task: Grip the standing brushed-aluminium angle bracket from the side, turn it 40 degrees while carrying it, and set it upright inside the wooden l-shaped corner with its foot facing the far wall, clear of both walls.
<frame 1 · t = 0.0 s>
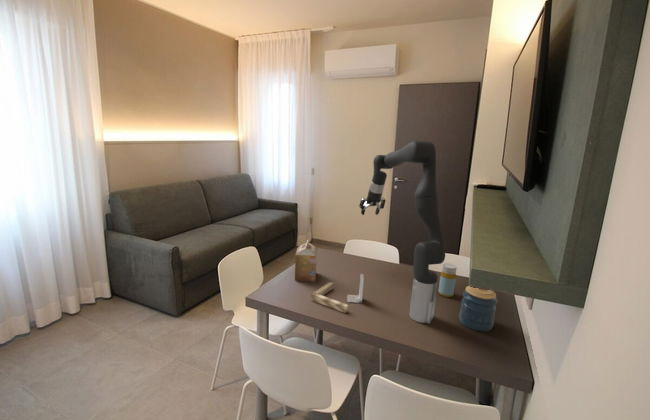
hand: (369, 214, 178), 31 cm above the table, tool tilted 20°, fingers open, 8 cm apart
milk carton: (305, 276, 166), on the table
wooden l-shaped corner: (336, 299, 143), on the table
canister: (475, 323, 130), on the table
bottle: (445, 294, 154), on the table
bracket: (360, 300, 144), on the table
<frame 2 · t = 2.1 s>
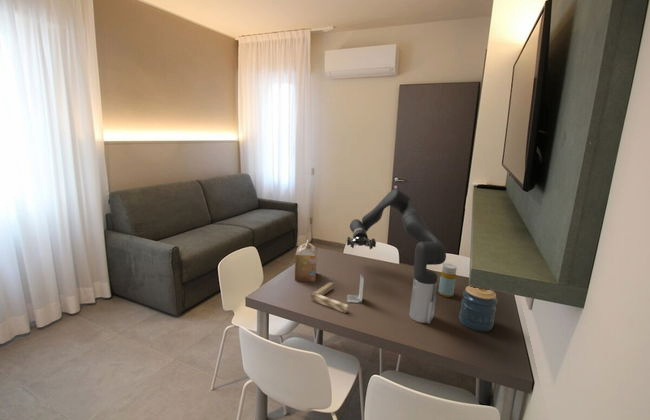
hand: (362, 246, 150), 22 cm above the table, tool horizontal, fingers open, 8 cm apart
nothing on the table moved.
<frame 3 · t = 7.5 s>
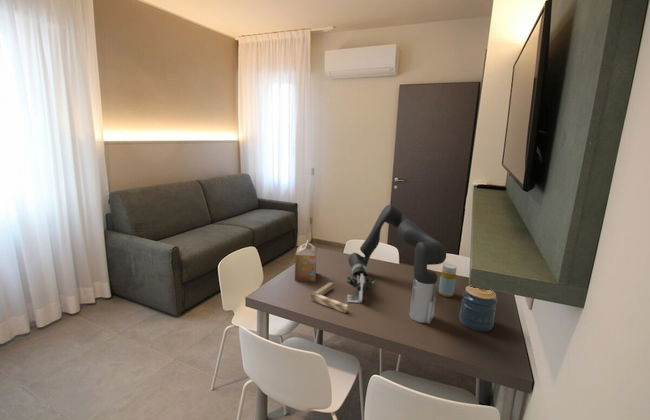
hand: (361, 289, 139), 7 cm above the table, tool horizontal, fingers closed on bracket
bracket: (360, 300, 144), on the table, touching gripper
everything else where it was.
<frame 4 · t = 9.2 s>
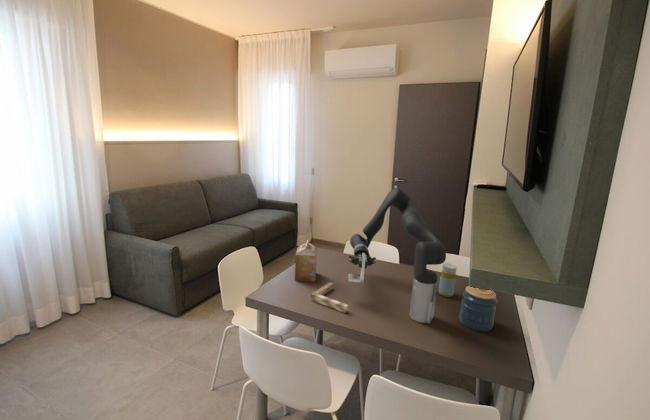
hand: (363, 266, 137), 18 cm above the table, tool horizontal, fingers closed on bracket
bracket: (361, 279, 141), point 11 cm above the table, touching gripper
everything else where it was.
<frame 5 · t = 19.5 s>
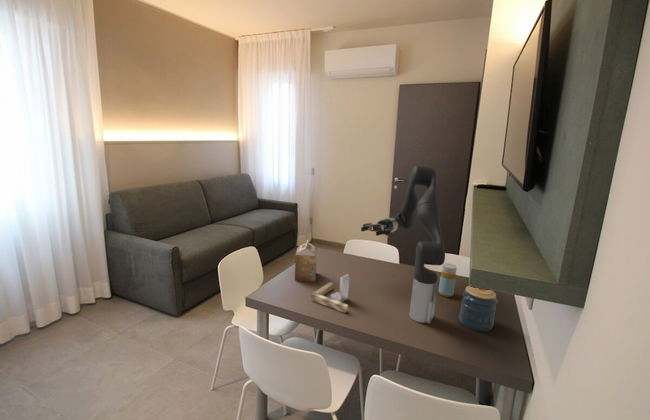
hand: (369, 231, 148), 30 cm above the table, tool horizontal, fingers open, 8 cm apart
bracket: (343, 300, 143), on the table
everything else where it was.
at the end: bracket inside the target area (0.9 cm from its centre), on the table; bracket tilted 0°; bracket touching table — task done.
